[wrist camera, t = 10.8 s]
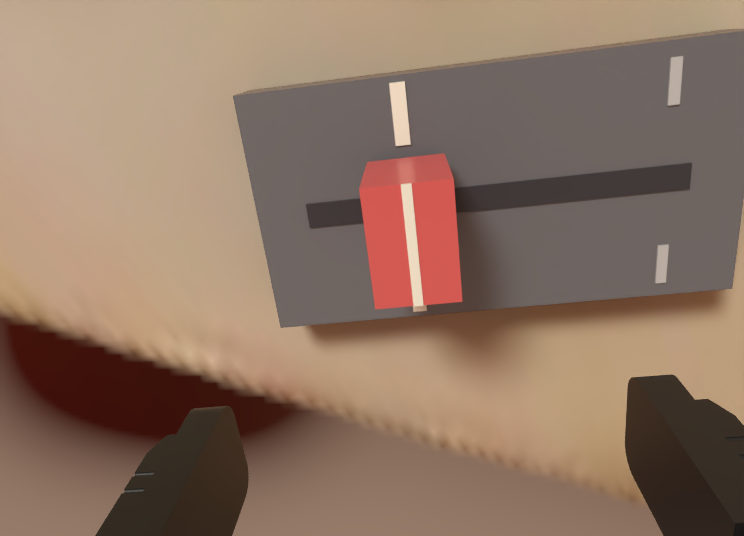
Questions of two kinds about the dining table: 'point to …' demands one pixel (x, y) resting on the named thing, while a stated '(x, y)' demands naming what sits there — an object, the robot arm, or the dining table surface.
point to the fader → (411, 231)
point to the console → (513, 174)
